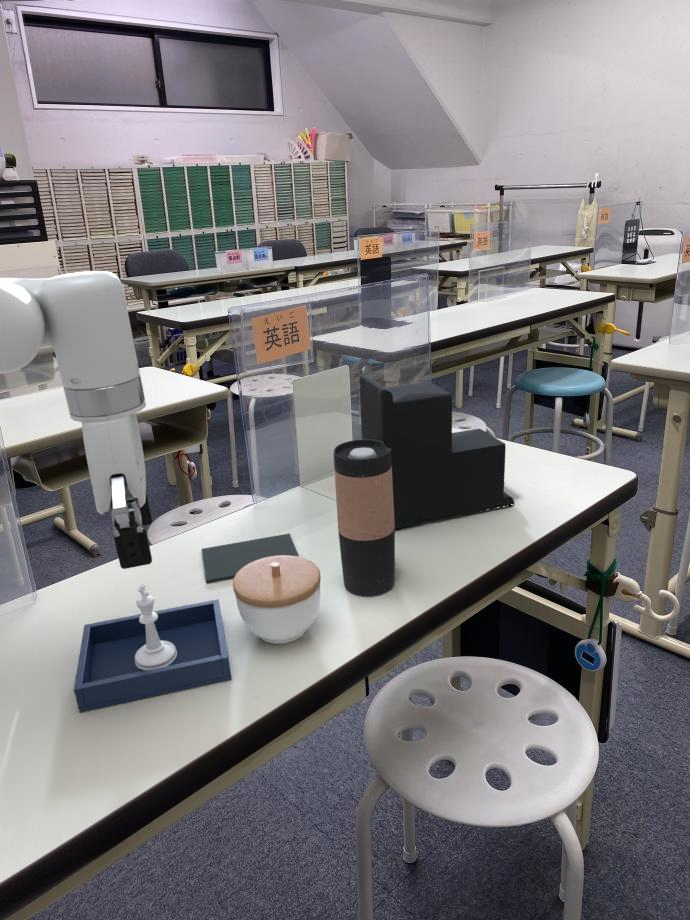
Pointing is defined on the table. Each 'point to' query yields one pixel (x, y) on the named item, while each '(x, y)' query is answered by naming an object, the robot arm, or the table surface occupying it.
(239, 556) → the mat
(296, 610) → the trinket box
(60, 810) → the table surface
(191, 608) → the tray
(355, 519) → the travel mug
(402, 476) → the bookend
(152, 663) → the chess piece
